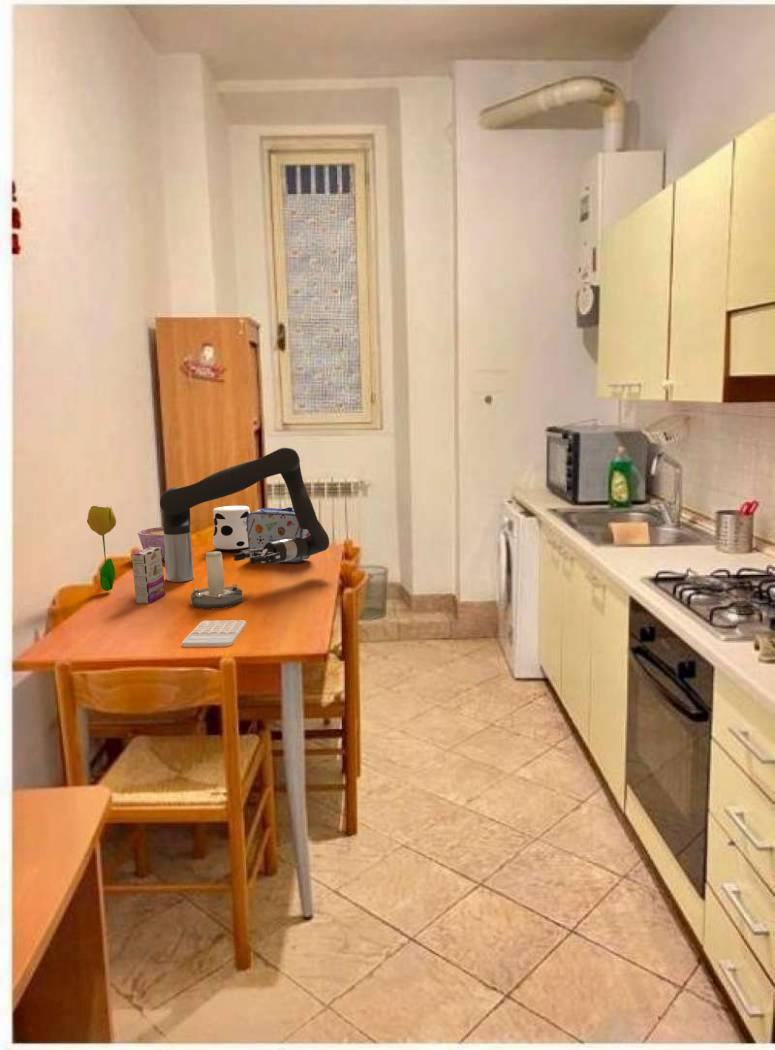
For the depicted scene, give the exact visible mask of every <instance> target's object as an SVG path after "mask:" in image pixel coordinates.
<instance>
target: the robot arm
mask: <svg viewBox="0 0 775 1050" xmlns="http://www.w3.org/2000/svg"><path fill="white" fill-rule="evenodd" d="M300 462H301V460H300V455H299V454H298V452H297V451H296V450H295V449H294V448H292V447H288V446H283V447H280V448H277V449H276V450H274V451H272V452H269V453H268V454H265V455H264V456H262V457H260V458H257V459H254V460H250V461H245V462H243V463H239V464H236V465H233V466H229V467H228V468H224V469H221V470H219V471H217V472H214V473H212V474H210V475H208V476H206V477H204V478H202V479H201V480H199V481H197V482H195V483H192V484H189V485H184V486H182V487H178V486H174V487H171V488H168V489H167V490H165V492H163V493H162V495H161V496H160V500H159V506H160V508H161V510H162V511H163V526H162V527H163V529H164V541H165V554H164V556H165V560H164V565H165V566H164V568H165V569H164V570H165V579H166V580H167V581H168V582H170V581H171V583H181V582H182V583H183V582H189V581H191V580H193V579H194V565H193V549H192V548H193V547H192V535H191V509H192V508H194V507H196V506H198V505H201V504H203V503H206V502H210V501H214V500H218V499H221V498H225V497H227V496H231V495H233V494H237V493H238V492H241V491H244V490H246V489H248V488H250V487H252V486H253V485H255V484H258V482H260V481H262V480H264V479H267V478H270V477H273V476H276V475H281V477H282V479H283V481H284V483H285V485H286V488H287V490H288V494H289V498H290V501H291V506H292V507H293V509H292V510H294V513H295V516H296V518H297V521H298V524H299V527H300V528H301V529H307V530H308V531H309V533H310V534H311V535H309V536H306V537H303V538H300V537H297V538H292V539H283V540H278V541H273V542H268V543H267V544H266V545H265V546H264V548H259V549H256V548H253V549H249V548H248V549H245V550H240V552H239V553H235V554H233V561H236V562H238V561H243V560H249V563H250V564H251V565H255V564H260V563H261V564H265V563H266V564H271V565H275V564H279V563H285V562H284V561H288V560H291V559H294V558H298V557H302V556H309V555H310V556H313V555H316V554H319V553H322V552H324V551H327V549H328V548H329V546H330V537H329V535H328V533H327V531H326V530H325V529H324V527H323V525H322V524H321V522H320V521H319V519H318V517H317V513H316V511H315V509H314V505H313V503H312V501H311V498H310V496H309V494H308V491H307V488H306V486H305V483H304V479H303V475H302V469H301V464H300ZM252 556H253V557H252Z"/></svg>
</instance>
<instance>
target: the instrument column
mask: <svg viewBox="0 0 775 1050" xmlns="http://www.w3.org/2000/svg"><path fill="white" fill-rule="evenodd" d="M205 560H206V577H207V588H208V589H209V594H221V593H224V592H225V588H224V587H225V578H224V565H223V564H224V563H223V554H222V552H221V551H220V550H218V551H217V550H214V551H208V552H206V553H205Z"/></svg>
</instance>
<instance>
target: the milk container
mask: <svg viewBox="0 0 775 1050" xmlns="http://www.w3.org/2000/svg"><path fill="white" fill-rule="evenodd" d="M250 510H251V509H250V507H249V506H247V505H227V506H219V507H215V508H213V515H212V516H213V519H212V520H213V534H212V544H213V546H214V547H213V548H214V549H216V550H218V551H220V552H221V551H223V552H238V551H242V550H248V549H249V546H248V534H247V524H246V519H247V516H248V514H249V513H251V511H250Z"/></svg>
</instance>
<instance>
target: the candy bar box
mask: <svg viewBox="0 0 775 1050" xmlns="http://www.w3.org/2000/svg"><path fill="white" fill-rule="evenodd" d="M130 556H131V562H132V573H133V574H132V575H133V583H134V593H135V594H134V595H135V603H136V604H139V605H141V603H142V604H145V605H146V604H147V605H149V604H152V603H153V602H156V601H157V600H159V599H160V597H161V598H162V597H164V596H165V595H166V587H165V578H164V576H165V575H164V574H165V573H164V566H163V560H162V552H161V547H148V548H146V549H143V548H142V549H141V550H139V551H137V552H134V553H132V554H131V555H130Z"/></svg>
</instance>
